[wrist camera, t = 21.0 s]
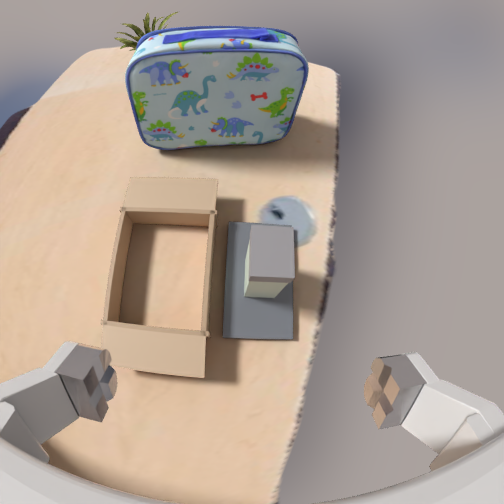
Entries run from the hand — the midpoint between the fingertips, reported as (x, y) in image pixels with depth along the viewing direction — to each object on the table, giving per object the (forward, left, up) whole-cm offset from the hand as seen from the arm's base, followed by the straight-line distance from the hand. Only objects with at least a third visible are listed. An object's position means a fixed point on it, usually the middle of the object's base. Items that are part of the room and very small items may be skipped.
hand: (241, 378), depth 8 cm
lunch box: (+37, +5, -29) cm, 47 cm away
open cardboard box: (+10, +10, -29) cm, 32 cm away
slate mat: (+10, -3, -29) cm, 31 cm away
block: (+10, -3, -28) cm, 30 cm away
